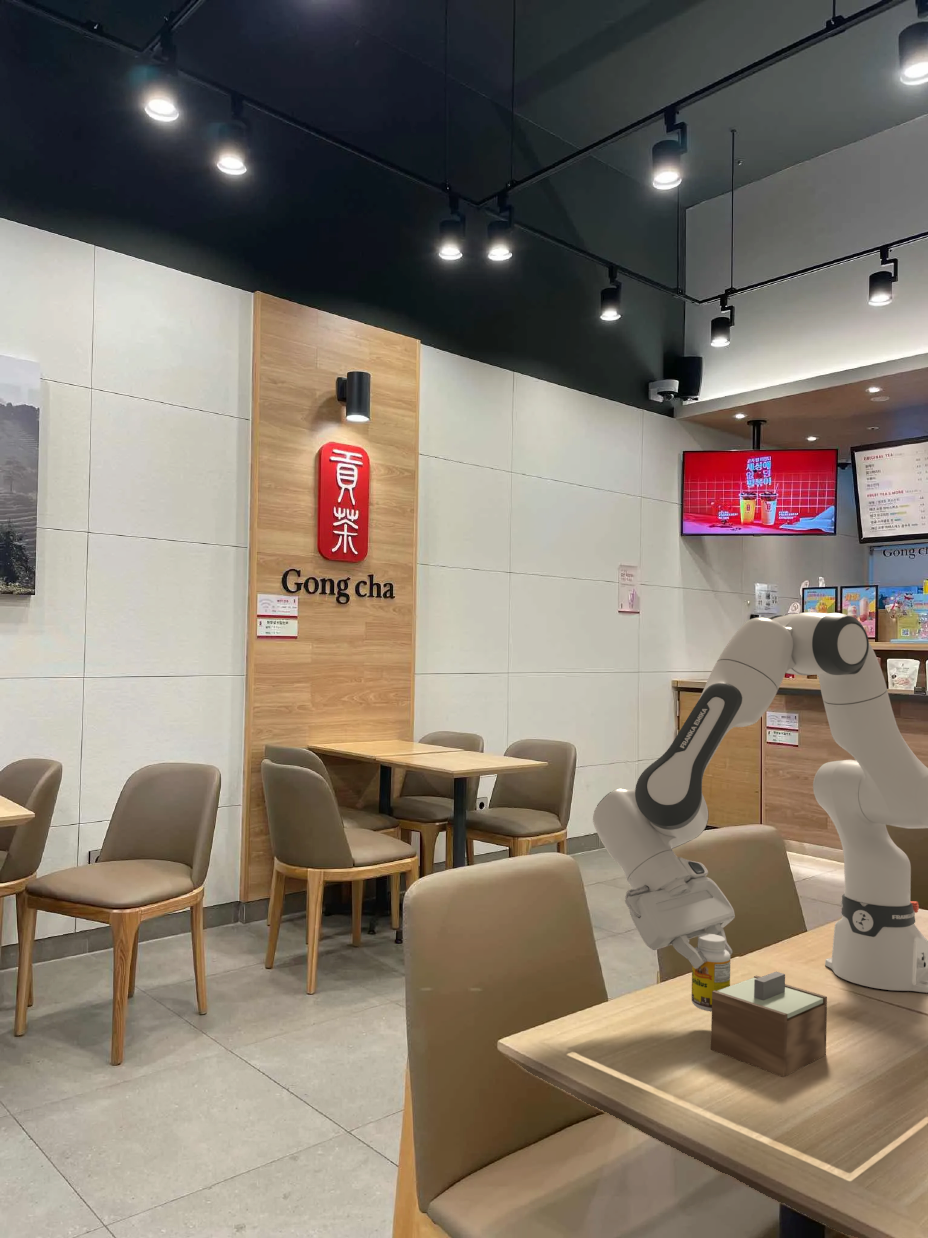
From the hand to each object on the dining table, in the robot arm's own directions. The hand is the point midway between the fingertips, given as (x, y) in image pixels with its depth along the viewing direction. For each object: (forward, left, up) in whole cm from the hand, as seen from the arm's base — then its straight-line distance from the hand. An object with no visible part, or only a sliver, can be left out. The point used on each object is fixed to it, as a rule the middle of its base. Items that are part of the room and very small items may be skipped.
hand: (714, 961), depth 136 cm
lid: (+1, +9, -3) cm, 10 cm away
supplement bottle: (0, -1, -7) cm, 7 cm away
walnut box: (+1, +9, -11) cm, 14 cm away
